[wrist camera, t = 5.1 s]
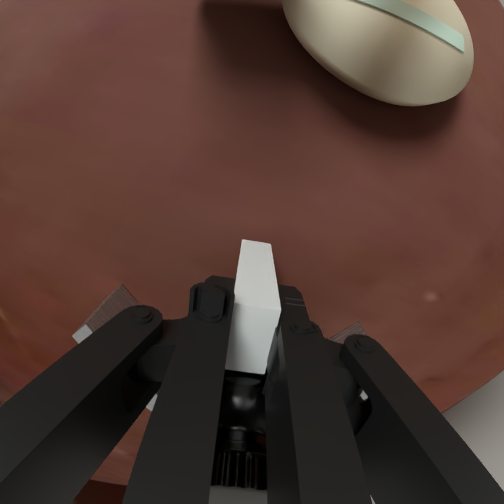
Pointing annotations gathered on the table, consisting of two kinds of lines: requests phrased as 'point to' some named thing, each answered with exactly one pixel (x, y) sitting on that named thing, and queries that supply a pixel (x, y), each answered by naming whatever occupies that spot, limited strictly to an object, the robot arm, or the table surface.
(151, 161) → the table surface
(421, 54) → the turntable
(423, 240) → the table surface
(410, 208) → the table surface
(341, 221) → the table surface
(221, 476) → the supplement bottle
